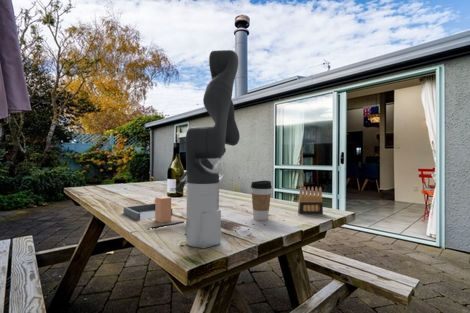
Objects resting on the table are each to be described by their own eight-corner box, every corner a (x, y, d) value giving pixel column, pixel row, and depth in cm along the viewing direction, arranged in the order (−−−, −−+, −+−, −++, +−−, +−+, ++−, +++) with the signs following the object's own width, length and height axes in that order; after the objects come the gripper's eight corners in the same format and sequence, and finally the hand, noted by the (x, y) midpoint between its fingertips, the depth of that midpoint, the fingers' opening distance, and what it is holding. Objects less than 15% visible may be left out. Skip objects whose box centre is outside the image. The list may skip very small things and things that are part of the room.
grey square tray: (172, 217, 100) (172, 208, 100) (137, 223, 91) (137, 213, 91) (156, 210, 111) (156, 203, 111) (123, 215, 102) (123, 207, 102)
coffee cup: (275, 220, 98) (275, 182, 98) (256, 221, 95) (256, 182, 95) (265, 215, 106) (265, 180, 106) (246, 216, 103) (247, 180, 103)
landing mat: (183, 223, 92) (183, 221, 92) (152, 229, 84) (152, 227, 84) (171, 218, 98) (171, 217, 98) (141, 223, 90) (141, 222, 90)
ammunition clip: (299, 214, 109) (299, 186, 109) (297, 213, 111) (298, 186, 111) (322, 213, 110) (323, 186, 110) (321, 212, 112) (321, 186, 112)
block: (170, 222, 91) (171, 197, 91) (160, 224, 88) (160, 198, 88) (165, 219, 94) (165, 196, 94) (155, 221, 91) (155, 197, 91)
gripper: (192, 156, 108) (167, 184, 100) (212, 156, 97) (186, 187, 89) (202, 168, 111) (178, 196, 104) (222, 169, 101) (198, 200, 93)
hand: (182, 192), depth 96 cm, fingers open, 8 cm apart
